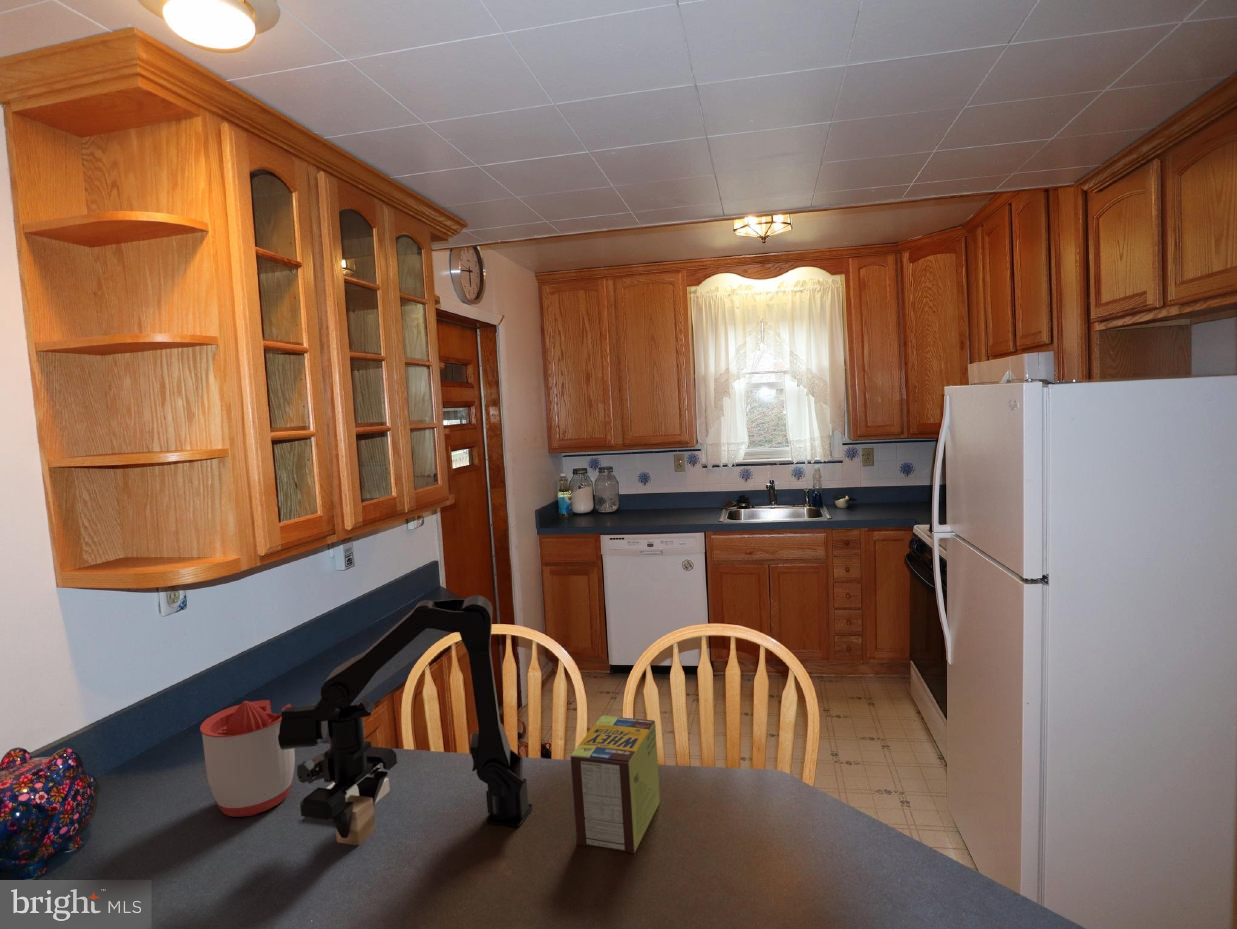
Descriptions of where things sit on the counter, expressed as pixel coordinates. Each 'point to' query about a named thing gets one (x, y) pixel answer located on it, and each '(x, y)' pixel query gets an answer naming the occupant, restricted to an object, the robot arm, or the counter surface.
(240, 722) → the citrus juicer
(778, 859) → the counter surface
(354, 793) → the tile base
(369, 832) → the oak block
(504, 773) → the robot arm
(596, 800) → the protein box
